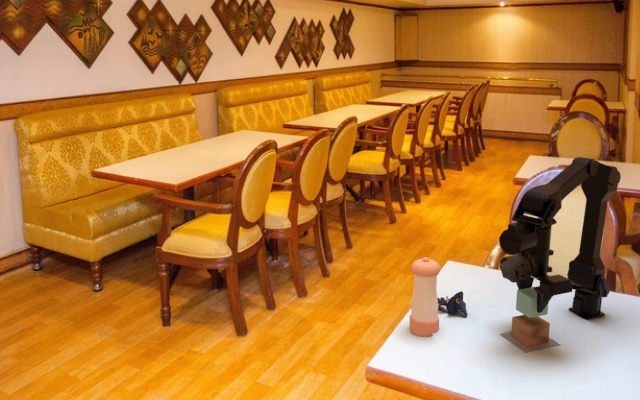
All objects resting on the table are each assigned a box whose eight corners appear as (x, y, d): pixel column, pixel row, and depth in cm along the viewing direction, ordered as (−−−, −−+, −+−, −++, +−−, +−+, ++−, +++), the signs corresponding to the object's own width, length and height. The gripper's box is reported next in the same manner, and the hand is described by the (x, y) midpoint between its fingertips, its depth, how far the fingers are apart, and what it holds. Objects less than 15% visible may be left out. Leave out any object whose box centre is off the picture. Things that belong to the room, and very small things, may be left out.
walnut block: (531, 331, 149) (532, 312, 147) (548, 342, 143) (549, 323, 142) (510, 336, 146) (512, 317, 145) (527, 347, 141) (528, 327, 140)
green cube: (533, 306, 146) (534, 286, 145) (547, 314, 142) (548, 294, 140) (515, 309, 144) (517, 290, 143) (529, 318, 140) (531, 298, 139)
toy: (428, 287, 171) (472, 287, 159) (433, 311, 171) (477, 314, 159) (409, 295, 165) (453, 296, 154) (414, 320, 166) (458, 324, 154)
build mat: (532, 329, 151) (532, 326, 151) (560, 347, 142) (561, 344, 142) (498, 336, 148) (498, 334, 148) (525, 355, 139) (525, 352, 139)
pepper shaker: (432, 339, 147) (434, 264, 142) (404, 332, 151) (405, 259, 146) (443, 327, 153) (445, 255, 148) (416, 320, 157) (417, 250, 152)
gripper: (482, 237, 145) (479, 298, 149) (535, 263, 128) (530, 331, 132) (521, 232, 148) (517, 291, 152) (577, 256, 131) (571, 322, 135)
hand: (532, 307), depth 143 cm, fingers closed on green cube, 5 cm apart
